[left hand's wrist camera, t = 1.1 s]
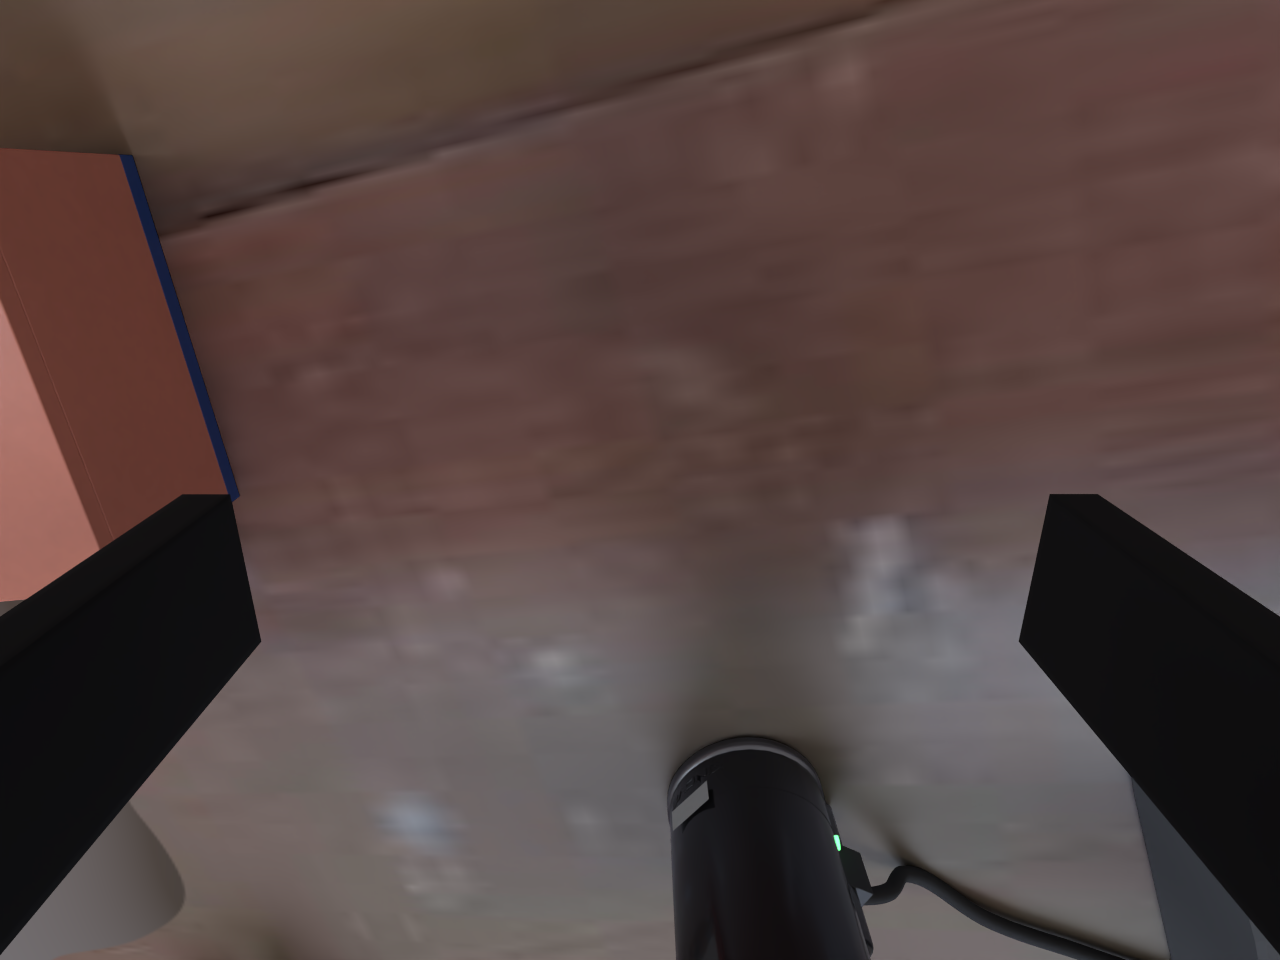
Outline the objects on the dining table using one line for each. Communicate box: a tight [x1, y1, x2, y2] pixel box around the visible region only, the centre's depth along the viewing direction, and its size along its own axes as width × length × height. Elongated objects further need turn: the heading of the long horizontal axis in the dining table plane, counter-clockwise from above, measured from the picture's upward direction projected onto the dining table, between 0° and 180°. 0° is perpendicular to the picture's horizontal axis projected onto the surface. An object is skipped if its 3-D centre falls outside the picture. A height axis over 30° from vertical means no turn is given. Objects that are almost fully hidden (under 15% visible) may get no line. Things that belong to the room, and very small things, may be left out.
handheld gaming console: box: [1132, 778, 1280, 960], centre depth 44 cm, size 23×3×10 cm, turn 23°
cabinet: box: [0, 148, 239, 602], centre depth 32 cm, size 16×6×10 cm, turn 6°
